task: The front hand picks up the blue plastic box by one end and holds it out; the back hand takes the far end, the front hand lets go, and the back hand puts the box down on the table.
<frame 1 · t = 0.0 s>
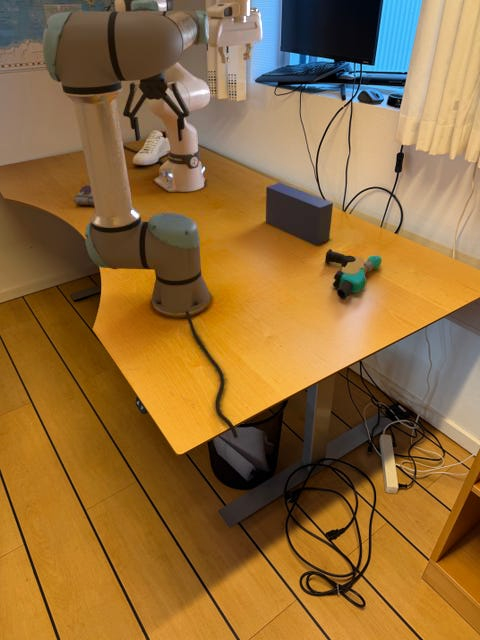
front hand: (159, 140, 150), 28 cm above the table, tool pointing down, fingers open, 13 cm apart
back hand: (236, 61, 149), 48 cm above the table, tool pointing down, fingers open, 8 cm apart
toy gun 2: (344, 279, 134), on the table
box: (296, 230, 160), on the table
toy gun: (101, 201, 183), on the table
sneaker: (151, 159, 223), on the table
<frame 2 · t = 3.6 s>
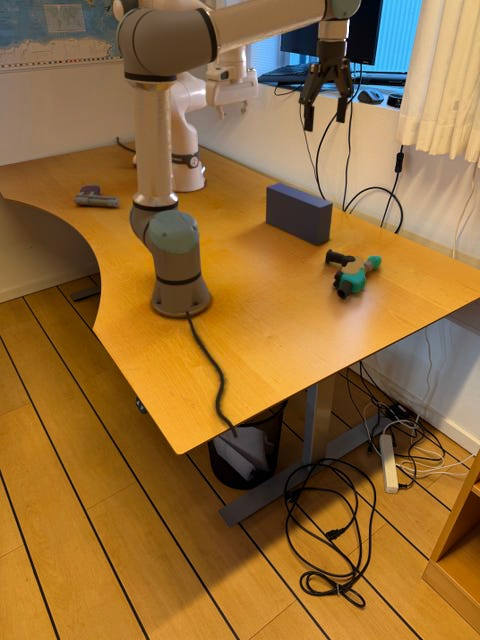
front hand: (324, 126, 134), 35 cm above the table, tool pointing down, fingers open, 13 cm apart
back hand: (233, 116, 160), 31 cm above the table, tool pointing down, fingers open, 8 cm apart
nothing on the table moved.
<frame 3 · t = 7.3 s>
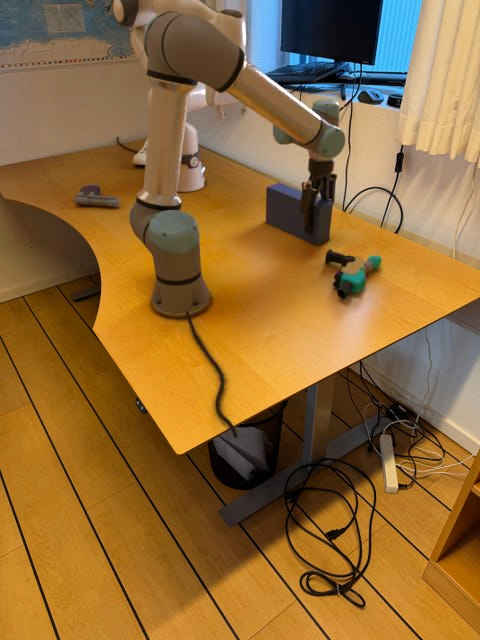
front hand: (315, 230, 153), 3 cm above the table, tool pointing down, fingers closed on box, 6 cm apart
back hand: (233, 116, 160), 31 cm above the table, tool pointing down, fingers open, 8 cm apart
box: (296, 230, 160), on the table, touching front hand
everything else where it was.
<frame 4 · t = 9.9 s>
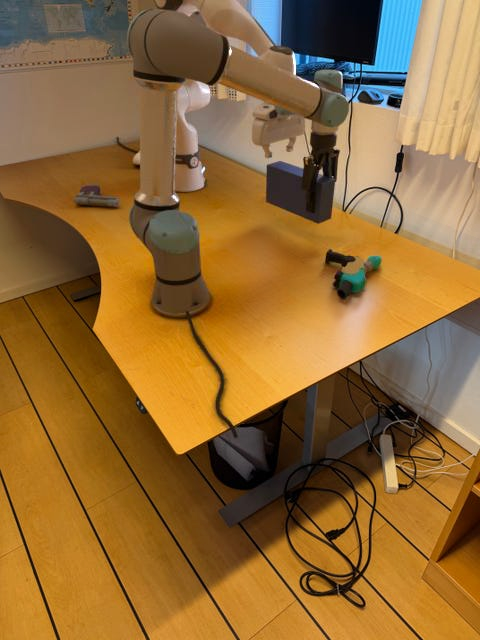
front hand: (317, 208, 148), 11 cm above the table, tool pointing down, fingers closed on box, 6 cm apart
back hand: (279, 154, 152), 23 cm above the table, tool pointing down, fingers open, 8 cm apart
box: (297, 210, 155), point 7 cm above the table, touching front hand
everything else where it was.
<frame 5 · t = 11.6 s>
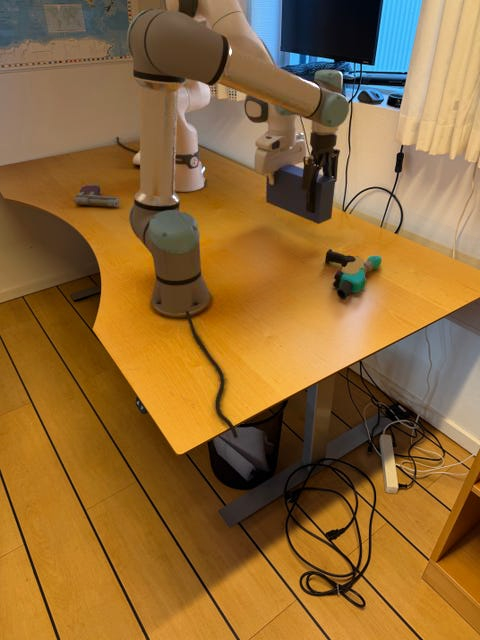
front hand: (317, 208, 148), 11 cm above the table, tool pointing down, fingers closed on box, 6 cm apart
back hand: (280, 181, 156), 15 cm above the table, tool pointing down, fingers closed on box, 6 cm apart
box: (297, 210, 155), point 7 cm above the table, touching front hand, back hand
everything else where it was.
when the front hand's fingers open (11 cm above the table, at t = 12.5 s): box stays where it is, held by the back hand.
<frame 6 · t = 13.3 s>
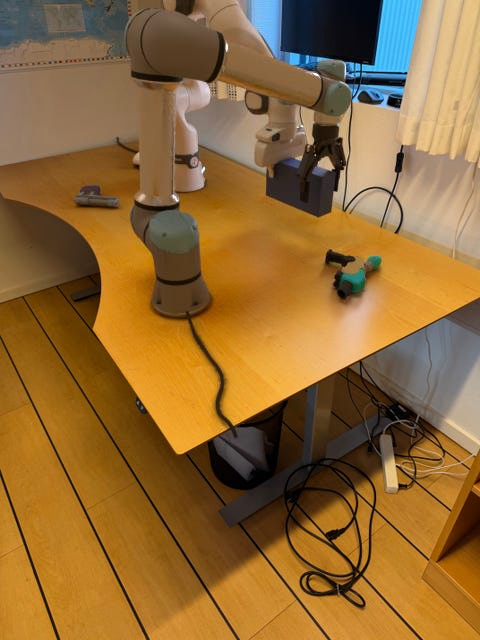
front hand: (319, 196, 146), 15 cm above the table, tool pointing down, fingers open, 13 cm apart
back hand: (280, 174, 155), 17 cm above the table, tool pointing down, fingers closed on box, 6 cm apart
box: (297, 203, 154), point 10 cm above the table, touching back hand
everything else where it was.
when the back hand's fingers open (9 cm above the table, at t = 17.0 s): box stays where it is, on the table.
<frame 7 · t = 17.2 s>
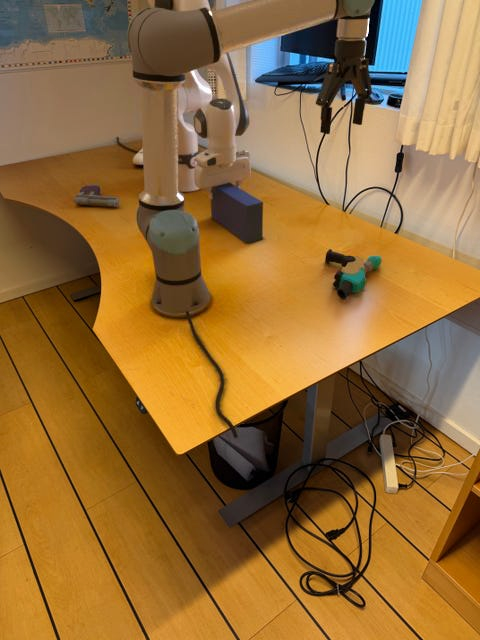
front hand: (341, 128, 130), 35 cm above the table, tool pointing down, fingers open, 13 cm apart
back hand: (224, 195, 162), 9 cm above the table, tool pointing down, fingers open, 8 cm apart
box: (235, 227, 162), on the table
everything else where it was.
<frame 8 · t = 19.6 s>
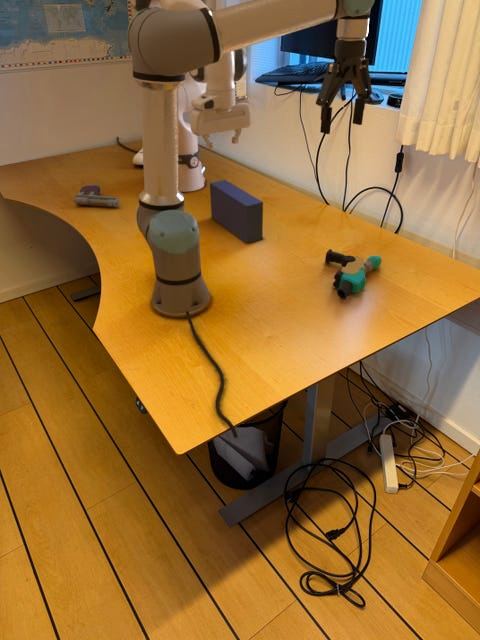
front hand: (341, 128, 130), 35 cm above the table, tool pointing down, fingers open, 13 cm apart
back hand: (222, 145, 152), 26 cm above the table, tool pointing down, fingers open, 8 cm apart
nothing on the table moved.
at the end: box inside the target area (7.5 cm from its centre), on the table; the front hand is holding nothing; the back hand is holding nothing; box at rest at the end (0.0 cm/s) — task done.
